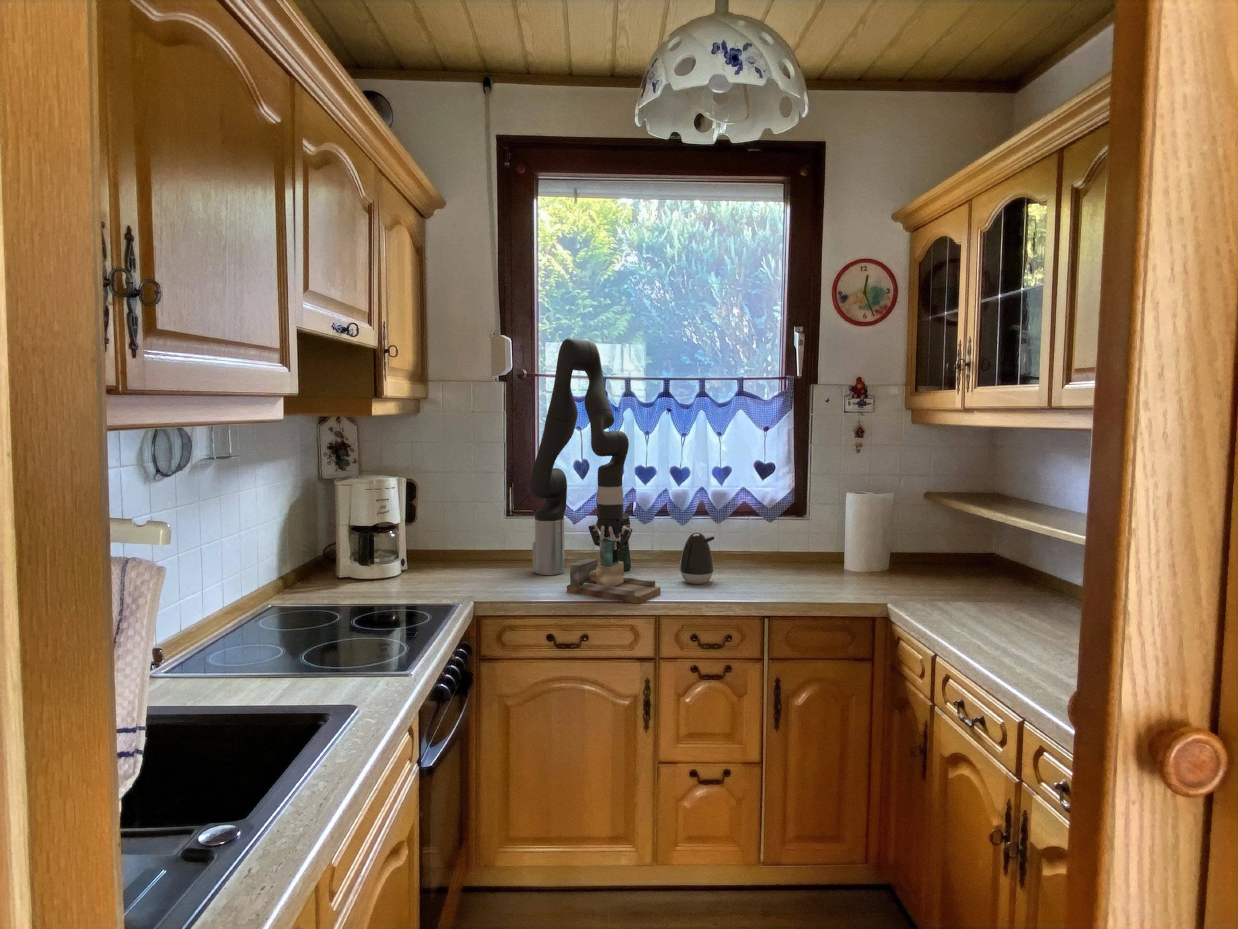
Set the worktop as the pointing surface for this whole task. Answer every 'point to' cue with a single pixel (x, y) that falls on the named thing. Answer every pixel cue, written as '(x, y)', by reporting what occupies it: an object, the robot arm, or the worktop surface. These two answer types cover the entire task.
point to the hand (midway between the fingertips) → (610, 561)
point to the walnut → (592, 576)
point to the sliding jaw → (609, 567)
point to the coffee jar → (625, 550)
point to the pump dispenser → (697, 559)
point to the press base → (626, 591)
